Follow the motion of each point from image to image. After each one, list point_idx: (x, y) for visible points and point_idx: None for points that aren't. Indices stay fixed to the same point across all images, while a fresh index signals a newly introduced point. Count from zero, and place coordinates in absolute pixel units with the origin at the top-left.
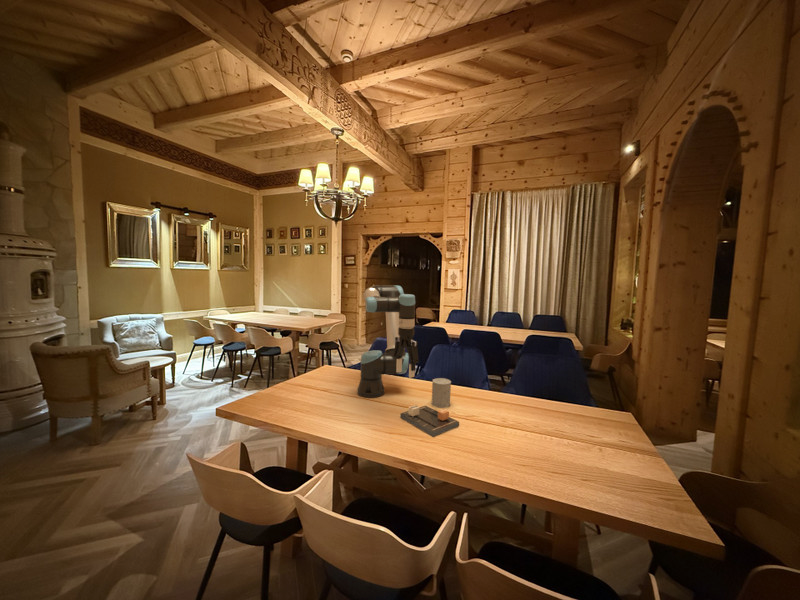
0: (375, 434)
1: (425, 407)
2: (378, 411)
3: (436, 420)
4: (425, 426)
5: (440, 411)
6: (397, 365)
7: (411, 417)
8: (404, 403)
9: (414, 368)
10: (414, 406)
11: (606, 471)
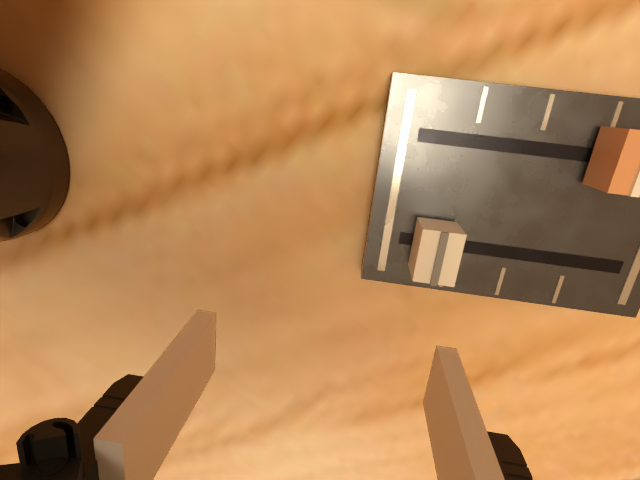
0: (397, 439)
1: (414, 100)
2: (232, 294)
3: (580, 200)
4: (565, 298)
5: (632, 191)
6: (177, 435)
7: None
8: (237, 109)
9: (523, 478)
10: (439, 254)
11: None
